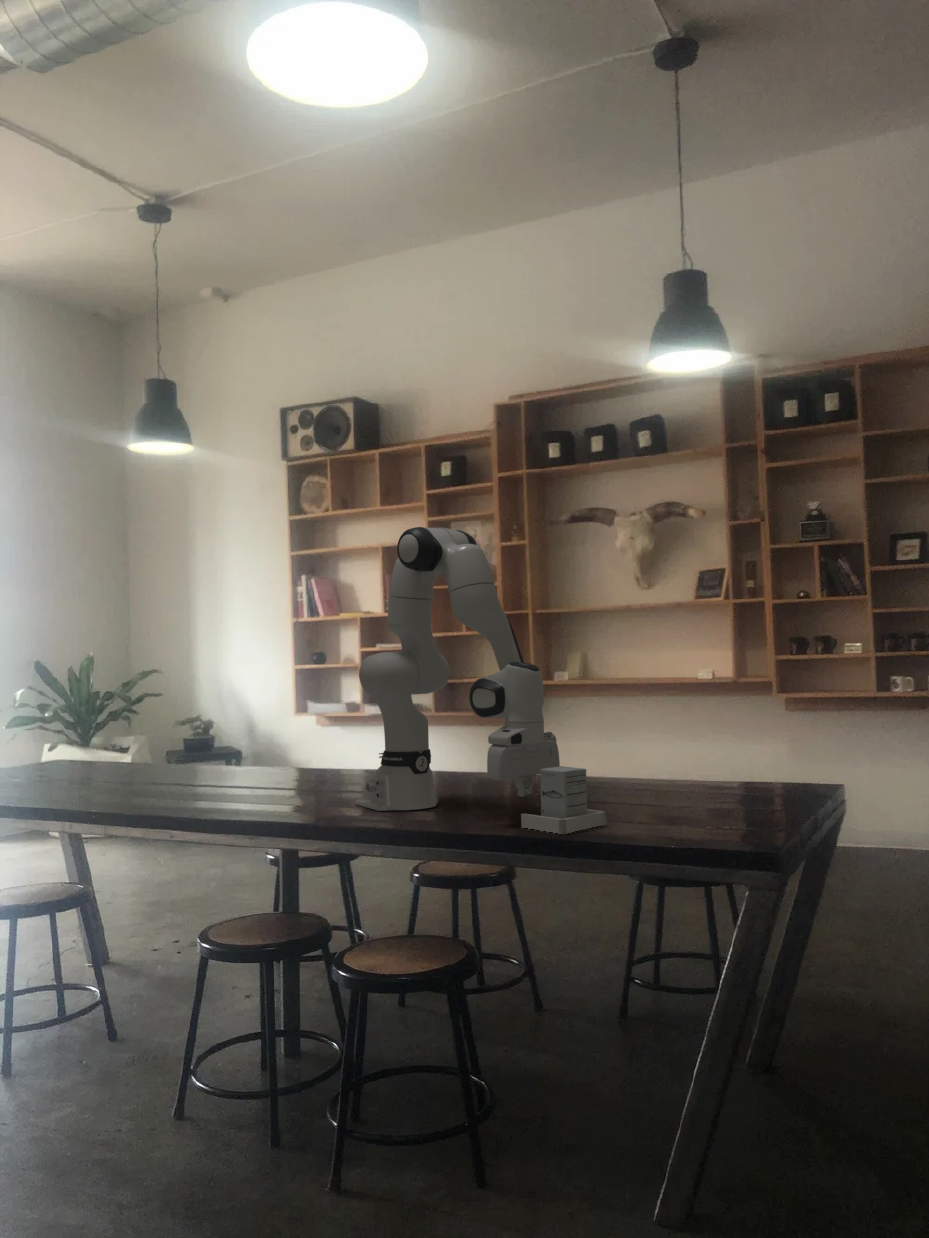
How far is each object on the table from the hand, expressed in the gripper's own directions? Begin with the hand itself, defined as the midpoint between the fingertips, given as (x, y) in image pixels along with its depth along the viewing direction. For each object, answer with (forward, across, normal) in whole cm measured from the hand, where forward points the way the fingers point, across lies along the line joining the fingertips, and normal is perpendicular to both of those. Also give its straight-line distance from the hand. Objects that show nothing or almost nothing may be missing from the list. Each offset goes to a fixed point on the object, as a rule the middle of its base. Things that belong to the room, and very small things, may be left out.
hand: (524, 795), depth 213 cm
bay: (+5, 0, +12) cm, 13 cm away
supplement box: (+6, 0, +12) cm, 13 cm away
